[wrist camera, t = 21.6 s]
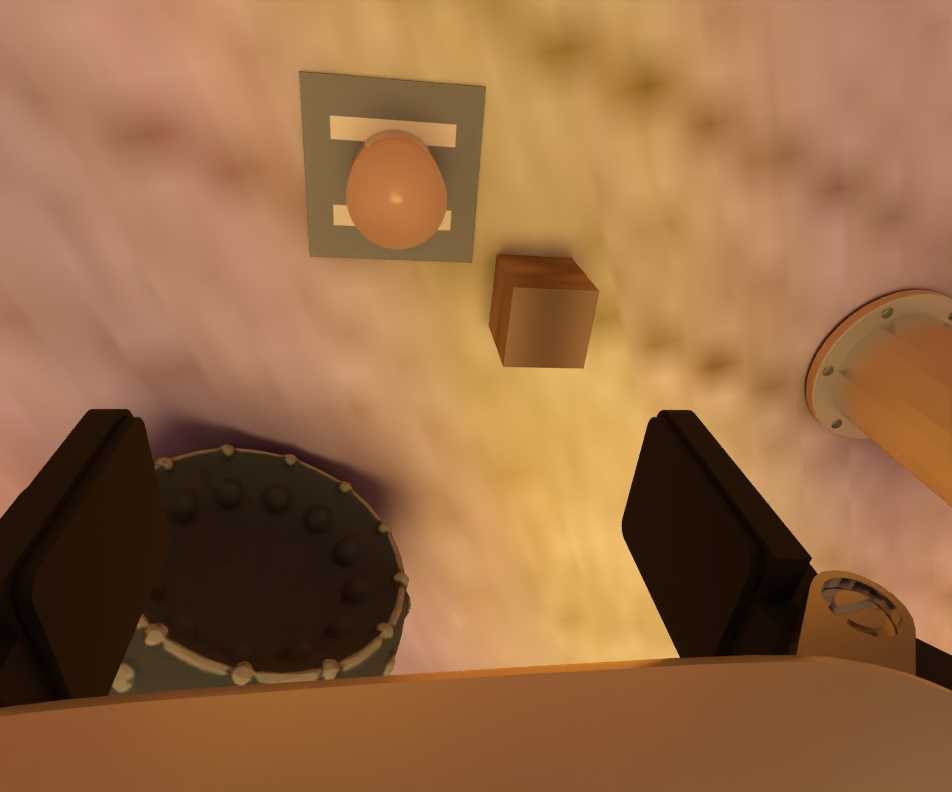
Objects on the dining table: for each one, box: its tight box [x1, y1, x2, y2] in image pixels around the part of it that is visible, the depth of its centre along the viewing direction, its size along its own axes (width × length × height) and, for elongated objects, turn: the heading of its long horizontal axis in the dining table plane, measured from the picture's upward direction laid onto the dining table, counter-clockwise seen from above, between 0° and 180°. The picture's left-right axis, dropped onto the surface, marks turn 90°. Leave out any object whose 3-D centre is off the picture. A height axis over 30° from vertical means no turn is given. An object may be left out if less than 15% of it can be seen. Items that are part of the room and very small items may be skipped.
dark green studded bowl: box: [108, 444, 411, 696], centre depth 38 cm, size 11×20×20 cm, turn 62°
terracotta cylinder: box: [346, 129, 447, 249], centre depth 33 cm, size 5×5×6 cm
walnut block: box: [489, 255, 599, 368], centre depth 38 cm, size 5×5×6 cm
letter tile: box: [299, 72, 486, 263], centre depth 35 cm, size 10×10×1 cm
